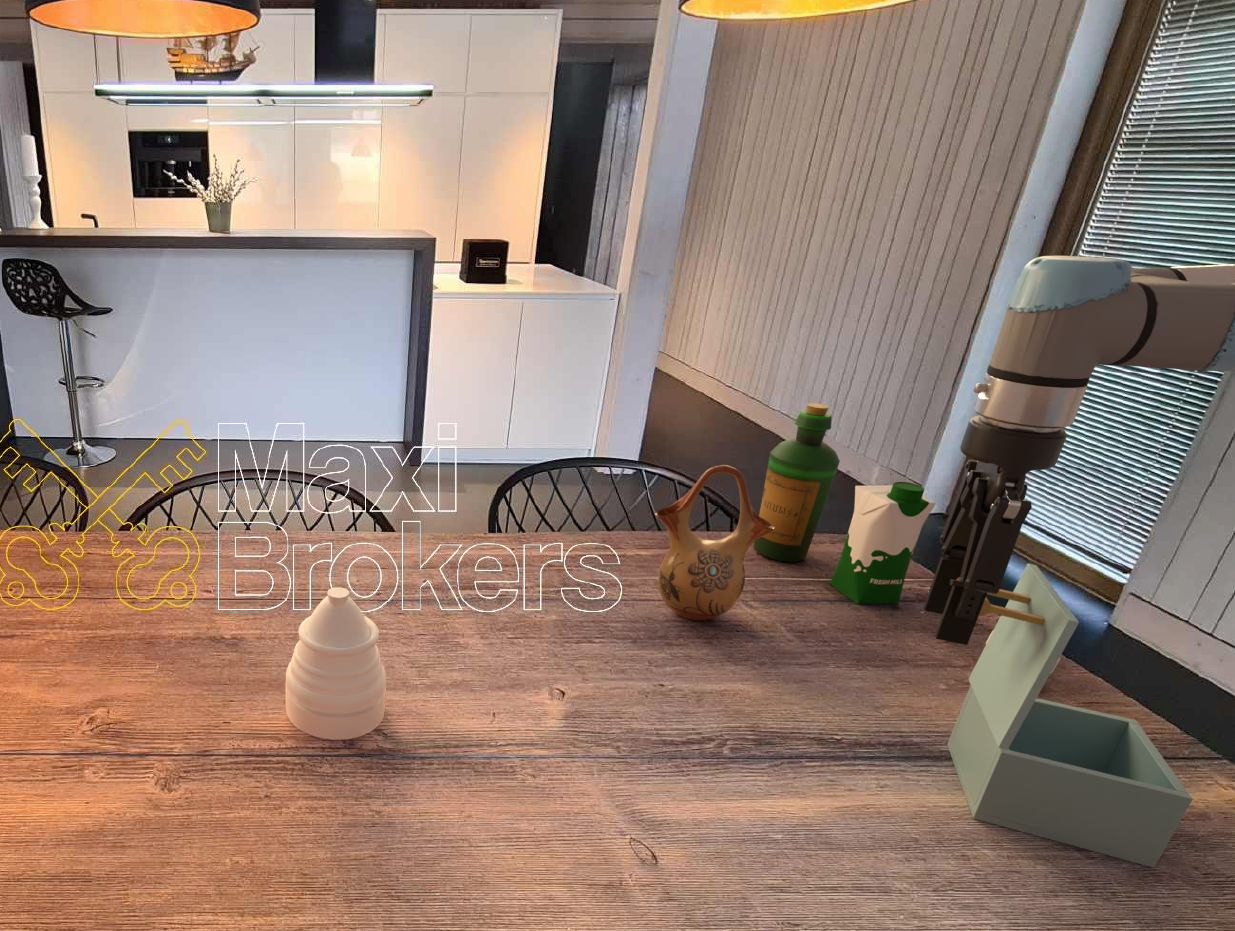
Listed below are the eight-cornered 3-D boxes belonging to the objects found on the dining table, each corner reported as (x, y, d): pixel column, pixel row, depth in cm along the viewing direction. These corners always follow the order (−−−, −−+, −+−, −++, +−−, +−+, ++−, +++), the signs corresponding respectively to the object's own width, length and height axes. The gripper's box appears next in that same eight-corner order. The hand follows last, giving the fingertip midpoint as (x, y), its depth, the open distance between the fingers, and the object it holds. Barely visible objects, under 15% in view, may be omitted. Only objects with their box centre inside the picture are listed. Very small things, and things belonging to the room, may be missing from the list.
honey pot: (386, 742, 98) (394, 613, 91) (281, 737, 99) (281, 609, 91) (383, 681, 110) (389, 562, 103) (289, 677, 110) (289, 559, 103)
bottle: (734, 542, 152) (769, 398, 141) (787, 540, 154) (825, 397, 143) (770, 567, 143) (810, 414, 132) (826, 565, 144) (870, 413, 133)
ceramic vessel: (639, 620, 125) (669, 469, 116) (635, 594, 133) (662, 450, 124) (755, 637, 121) (796, 481, 111) (744, 609, 129) (781, 461, 119)
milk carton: (856, 607, 130) (892, 492, 122) (820, 581, 138) (852, 471, 130) (908, 606, 130) (947, 491, 122) (869, 580, 138) (904, 471, 131)
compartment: (1104, 783, 92) (1136, 719, 89) (1154, 868, 81) (1193, 799, 77) (946, 744, 98) (970, 683, 95) (972, 818, 87) (1001, 752, 84)
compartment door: (1036, 565, 88) (956, 547, 91) (1079, 622, 77) (986, 600, 79) (976, 681, 95) (903, 661, 97) (1007, 750, 83) (924, 725, 86)
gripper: (952, 395, 88) (890, 582, 97) (996, 442, 73) (918, 659, 82) (1038, 404, 85) (967, 596, 94) (1104, 454, 70) (1010, 679, 79)
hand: (944, 625), depth 88 cm, fingers closed on compartment door, 6 cm apart
